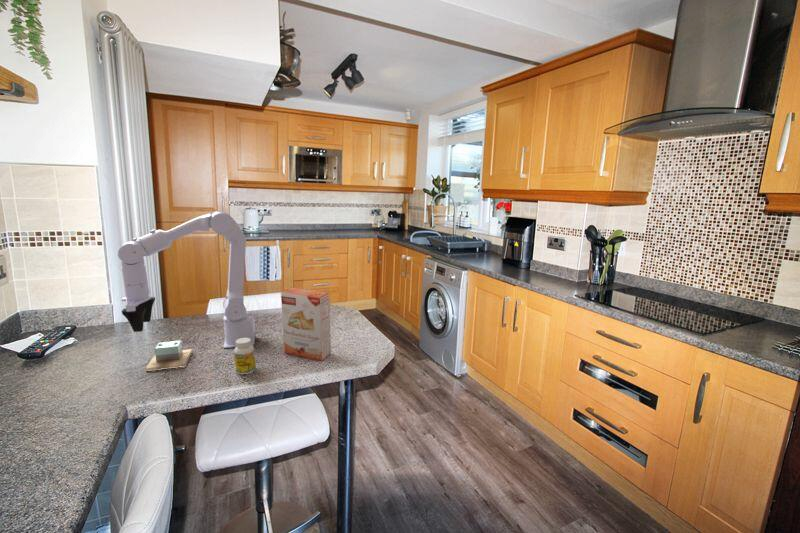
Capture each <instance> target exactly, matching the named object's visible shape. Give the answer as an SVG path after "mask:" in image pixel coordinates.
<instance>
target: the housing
mask: <svg viewBox="0 0 800 533" xmlns="http://www.w3.org/2000/svg"><path fill="white" fill-rule="evenodd" d="M182 350H183V346H182V340H173V341H172V340H170V341H162V342H158V343H157V344H156V346H155V347H154V355H156V362H164V361H173V360H180V358H181V356H182V354H183V352H182Z"/></svg>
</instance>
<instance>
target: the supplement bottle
mask: <svg viewBox="0 0 800 533" xmlns="http://www.w3.org/2000/svg"><path fill="white" fill-rule="evenodd" d="M233 354H234V355H233V356H234V365H235V366H234V367H235V372H237V373H239V374H246V373H250V372H252V371H254V370H255V371H256V370H257V368H256V367H257V366H256V355H255V348H254V345H251V339H250V338H240V339H238V340H236V347H234V350H233ZM255 371H254V372H255ZM237 373H236V374H237ZM252 373H253V372H252ZM239 374H238V375H239ZM250 374H251V373H250Z"/></svg>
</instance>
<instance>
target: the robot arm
mask: <svg viewBox="0 0 800 533" xmlns="http://www.w3.org/2000/svg"><path fill="white" fill-rule="evenodd" d="M210 229H211V230H212V231H213V232H214V233H216V234H218V235H219V236H222V237H224V238H225V239H226V240H227V241H228V242H229V257H228V259H229V260H228V273H227V274H228V275H227V276H228V277H227V290H226V296H225V298H224V300H223V303H222V306H223V309H224V316H223V329H224V336H225V337H224V338H225V339H224V343H223V346H222V347H223V349H230V348H231V349H232V348H236V340H238V339H240V338H250V339H251V345H252V346H254V345H255V341H256V328H255V318H254V316H253V315H248V314H247V308H246V306H245V302H244V301H245V300H244V298H245V297H244V282H245V281H244V278H245V264H246V248H247V237H246V235H245V234H244V232H243V231H242V229H241V227H240V226H239V224H238V223H237V221H236V220H235V219H234V218H233V217H232V216H231V215H229V213H227V212H225V211H222V210H215V211H213V212H212V213H206V214H203V215H200V216H197V217H195V218H193V219H190V220H188V221H186V222H184V223H182V224H179V225H177V226H176V227H173V228H171V229H169V230H162V229H157V230H156V229H155V228H154V229H152V230H150V231H149V233H148V234H146V235H143V236H140V237H134V238H132V241H131V240H130V241H126V242H125V243H123V244H122V246H120V247H119V249H118V250H117V256H118V259H119V260H120V261H121V262H120V264H121V267H122V268H121V272H122V278H123V285H124V286H123V287H124V293H125V296H124V297H122V298H121V302H125V303H126V304H125V308H123V309H122V310H121V314H122V315H123V317H125V319H127V321H128V323H129V324H130V325H129V326H130V327H131V329H132V331H133V333H137V332H143V330H144V323H150V322H151V319H152V313H153V312H152V311H153V306H154V303H155V300H156V297H154V296H152V297H151V294H150V288H149V281H148V280H149V279H148V274H147V267H146V266H145V259H144V257H150V256H152V255H154V254H156V253H159V252H162V251H163V250H167V249H168V248H171V246H172V243H173V241H176V240H178V239H180V238H183V237H185V236H189V235H191V234H194V233H195V232H198V231H200V232H201V231H202V232H211V230H210Z"/></svg>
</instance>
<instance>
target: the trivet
mask: <svg viewBox="0 0 800 533" xmlns="http://www.w3.org/2000/svg"><path fill="white" fill-rule="evenodd" d="M182 352H183V354H182V356H181V358H180V360H173V361H164V362H156V355H155V354H154V355H153V357H152V358H151V359H150V361H149V363H148V364H147V366H146V367H145V372H146V371H147V370H154V369H161V368H169V367H179V366H185V365H186V363H187V361H188V359H189V357H190V355H191V356H192V354H193V349H192V348H189V349H182ZM191 353H192V354H191ZM190 358H191V357H190ZM189 360H190V359H189ZM188 362H189V361H188ZM187 364H188V363H187ZM186 366H187V365H186Z"/></svg>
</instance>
